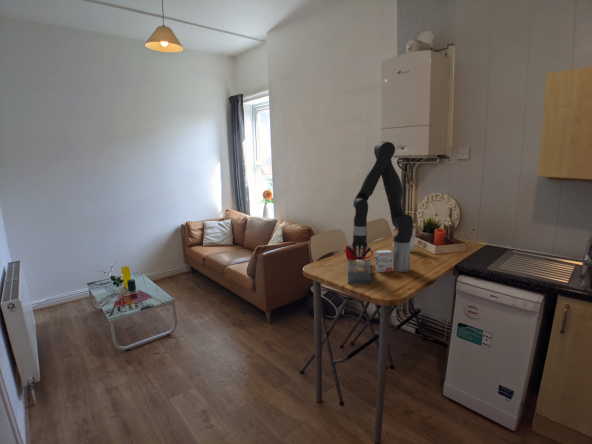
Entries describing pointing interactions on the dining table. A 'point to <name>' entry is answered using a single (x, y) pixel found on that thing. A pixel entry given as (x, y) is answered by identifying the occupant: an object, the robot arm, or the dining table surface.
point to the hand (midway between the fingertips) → (359, 262)
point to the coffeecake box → (412, 241)
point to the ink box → (383, 261)
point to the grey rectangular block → (359, 265)
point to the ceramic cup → (351, 256)
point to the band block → (359, 273)
